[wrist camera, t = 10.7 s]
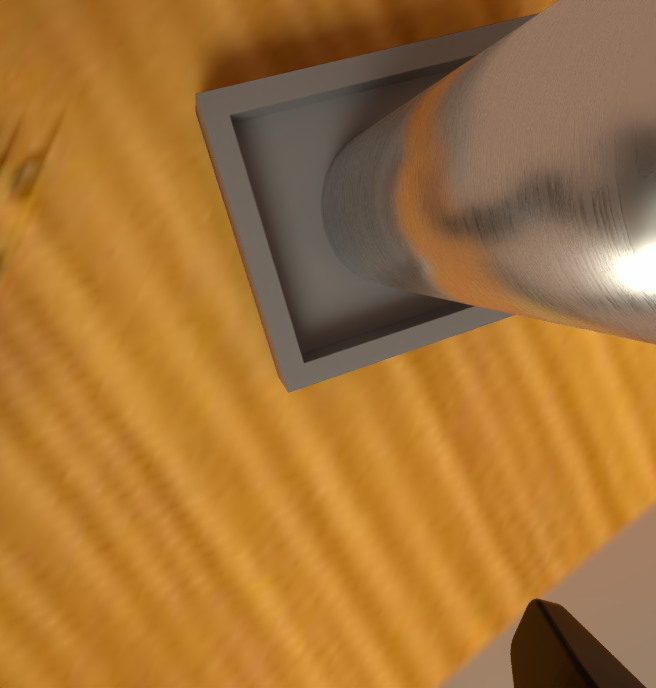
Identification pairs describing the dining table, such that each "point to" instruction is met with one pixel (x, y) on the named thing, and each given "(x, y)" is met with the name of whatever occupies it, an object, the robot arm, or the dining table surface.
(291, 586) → the dining table surface
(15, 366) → the dining table surface
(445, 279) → the silver metal cylinder
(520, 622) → the robot arm
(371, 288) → the tray
